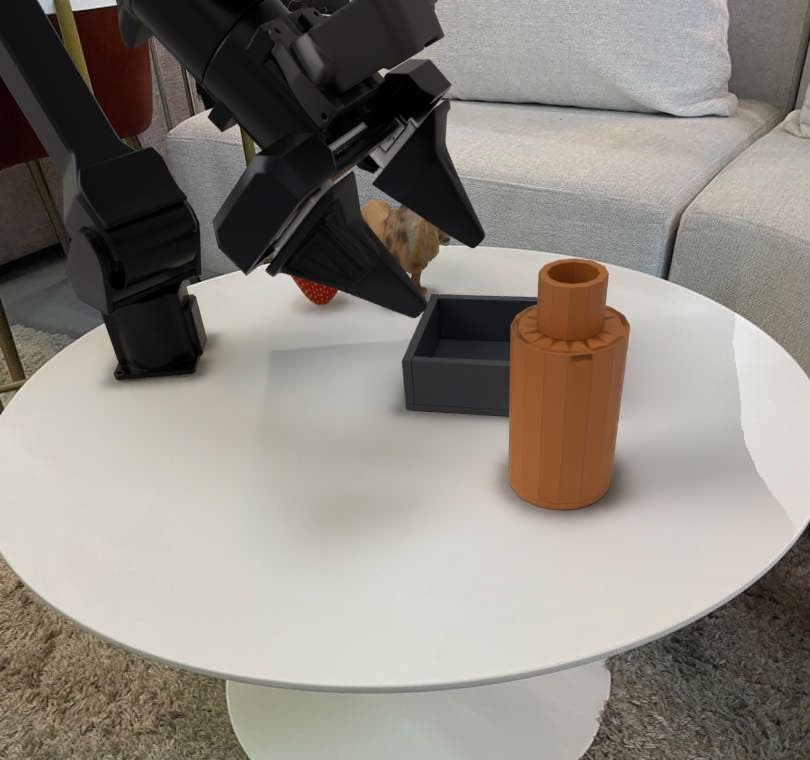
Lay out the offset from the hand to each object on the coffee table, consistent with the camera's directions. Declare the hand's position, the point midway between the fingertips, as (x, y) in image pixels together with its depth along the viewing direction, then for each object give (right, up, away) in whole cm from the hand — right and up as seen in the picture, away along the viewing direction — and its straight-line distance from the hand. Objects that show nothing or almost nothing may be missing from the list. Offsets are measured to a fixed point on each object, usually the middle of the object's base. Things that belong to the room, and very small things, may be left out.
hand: (453, 275), depth 45 cm
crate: (+4, -2, +16) cm, 17 cm away
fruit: (-10, +6, +28) cm, 30 cm away
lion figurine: (-3, +8, +29) cm, 30 cm away
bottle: (+7, -11, +6) cm, 14 cm away
